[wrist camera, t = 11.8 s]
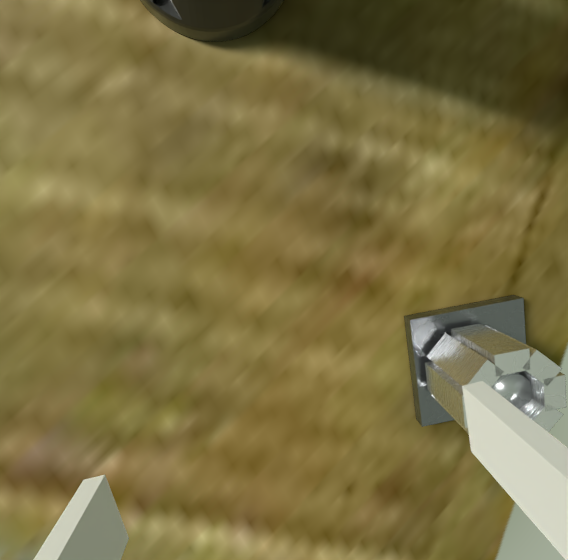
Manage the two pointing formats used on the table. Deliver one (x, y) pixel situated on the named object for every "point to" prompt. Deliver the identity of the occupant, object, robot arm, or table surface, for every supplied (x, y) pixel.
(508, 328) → the shaft block
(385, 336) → the table surface
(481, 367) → the ring
